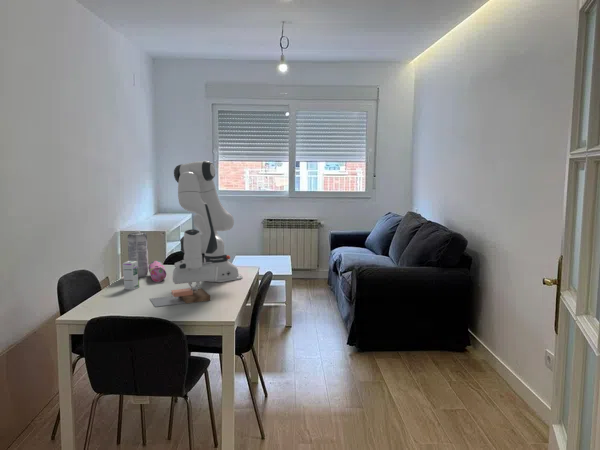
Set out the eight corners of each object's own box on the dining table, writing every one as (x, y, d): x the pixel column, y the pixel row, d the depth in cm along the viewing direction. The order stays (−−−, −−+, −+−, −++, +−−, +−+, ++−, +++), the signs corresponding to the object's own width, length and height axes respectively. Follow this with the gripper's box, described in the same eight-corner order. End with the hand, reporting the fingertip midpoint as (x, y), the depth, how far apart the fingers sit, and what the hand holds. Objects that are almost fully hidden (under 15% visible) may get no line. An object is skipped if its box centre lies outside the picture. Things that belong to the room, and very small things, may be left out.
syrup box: (134, 289, 274) (132, 262, 272) (123, 289, 275) (122, 262, 273) (139, 287, 279) (138, 260, 278) (129, 286, 280) (128, 260, 279)
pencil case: (166, 281, 293) (166, 265, 292) (150, 282, 290) (149, 267, 289) (164, 274, 313) (164, 259, 312) (148, 275, 310) (148, 260, 309)
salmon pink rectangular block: (189, 292, 257) (189, 288, 257) (192, 294, 252) (192, 290, 251) (171, 294, 253) (171, 290, 253) (174, 297, 248) (173, 292, 247)
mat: (178, 295, 260) (178, 295, 260) (185, 303, 245) (185, 302, 245) (149, 299, 254) (149, 298, 254) (155, 307, 239) (155, 306, 239)
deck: (201, 293, 265) (201, 288, 264) (210, 300, 250) (210, 295, 250) (178, 295, 260) (178, 290, 259) (185, 303, 245) (185, 298, 245)
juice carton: (147, 277, 304) (145, 231, 301) (128, 278, 302) (126, 232, 299) (149, 274, 313) (147, 229, 309) (131, 274, 311) (128, 230, 308)
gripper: (212, 260, 260) (213, 287, 262) (171, 263, 252) (172, 291, 253) (215, 262, 255) (216, 289, 256) (173, 266, 246) (175, 294, 248)
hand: (194, 290), depth 255 cm, fingers closed
